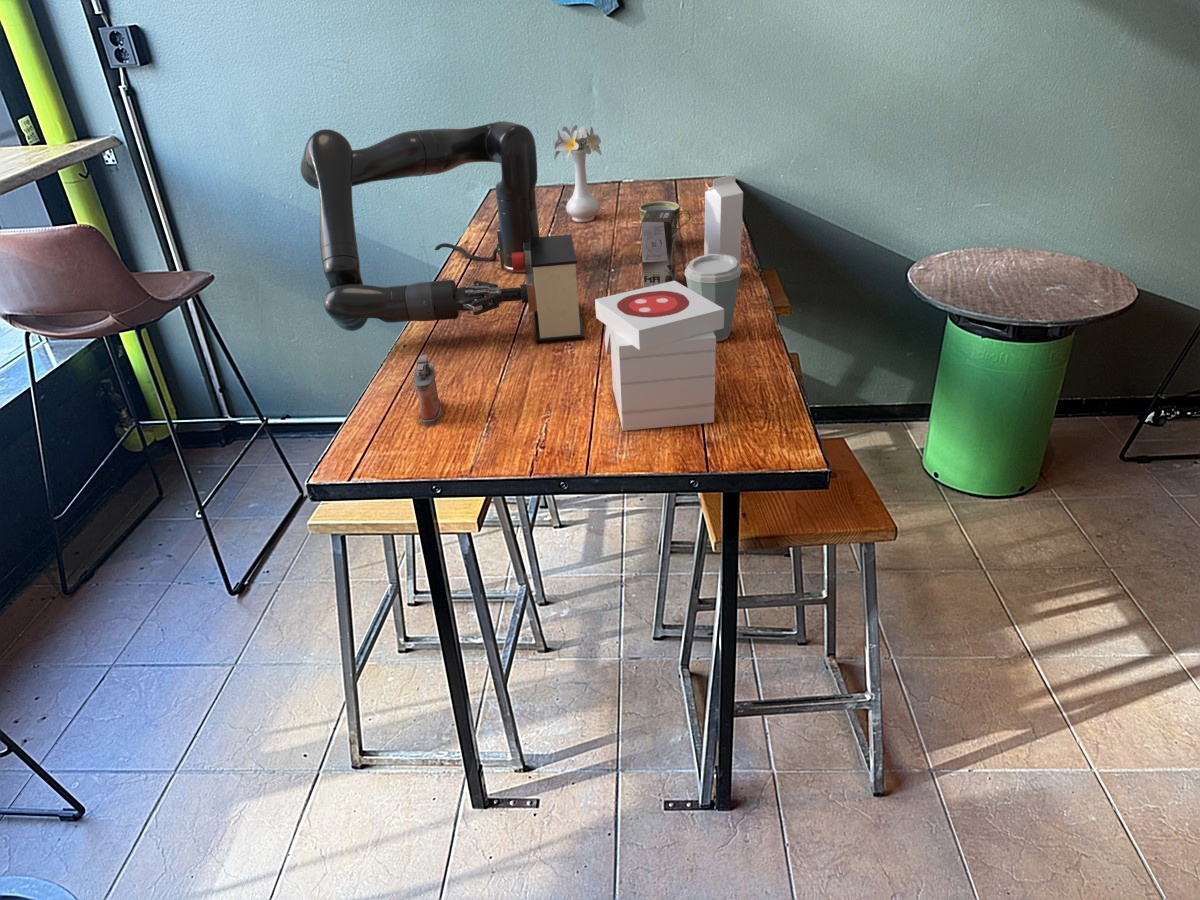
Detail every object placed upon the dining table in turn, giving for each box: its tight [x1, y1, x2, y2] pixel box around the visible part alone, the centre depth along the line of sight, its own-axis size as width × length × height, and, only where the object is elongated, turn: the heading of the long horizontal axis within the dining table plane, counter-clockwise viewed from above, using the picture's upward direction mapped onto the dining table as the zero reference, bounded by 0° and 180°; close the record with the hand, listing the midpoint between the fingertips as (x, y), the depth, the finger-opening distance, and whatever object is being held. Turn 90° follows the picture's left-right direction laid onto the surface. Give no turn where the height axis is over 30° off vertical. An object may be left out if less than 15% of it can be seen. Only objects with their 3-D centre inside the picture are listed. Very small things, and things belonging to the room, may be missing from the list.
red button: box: [512, 252, 525, 271], centre depth 167 cm, size 2×4×4 cm, turn 6°
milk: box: [703, 174, 744, 266], centre depth 184 cm, size 6×6×22 cm
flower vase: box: [553, 124, 603, 223], centre depth 227 cm, size 13×18×25 cm
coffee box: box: [641, 210, 676, 288], centre depth 181 cm, size 9×6×16 cm
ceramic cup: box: [639, 200, 692, 235], centre depth 206 cm, size 13×10×10 cm
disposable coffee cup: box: [683, 254, 743, 343], centre depth 158 cm, size 11×11×15 cm
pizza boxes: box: [594, 280, 724, 432], centre depth 139 cm, size 19×30×18 cm, turn 5°
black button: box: [519, 283, 528, 304], centre depth 161 cm, size 2×4×4 cm, turn 6°
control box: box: [523, 234, 586, 345], centre depth 166 cm, size 10×18×16 cm, turn 6°
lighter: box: [412, 354, 442, 426], centre depth 138 cm, size 8×3×10 cm, turn 5°
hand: (521, 293), depth 161 cm, fingers closed
